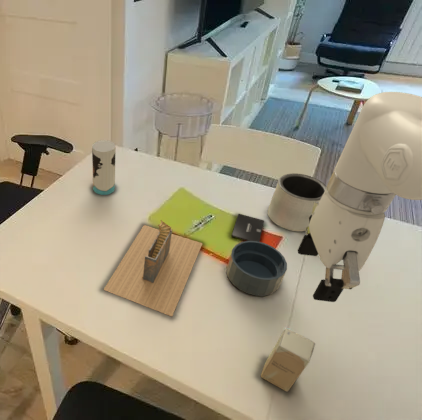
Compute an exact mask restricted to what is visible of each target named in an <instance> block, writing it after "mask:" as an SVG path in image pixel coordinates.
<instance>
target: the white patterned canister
mask: <svg viewBox="0 0 422 420" xmlns="http://www.w3.org/2000/svg"><path fill="white" fill-rule="evenodd" d="M116 147H117V146H116V144H115V142H113V141H111V140H108V139H107V140H106V139H100V140H97V141H95V142H93V143H92V145H91V159H92V160H91V161H92V163H91V164H92V190H93V192H94V193H95V194H98V195H101V196H108V195H111V194H112V193H114V192H115V190H116Z"/></svg>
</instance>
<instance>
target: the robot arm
mask: <svg viewBox="0 0 422 420" xmlns="http://www.w3.org/2000/svg"><path fill="white" fill-rule="evenodd" d="M337 160H338V161H337V163H336V164H335V167H334V169H333V172H332V173H331V176H330V178H329V180H328V182H327V184H326V186H327V187H326V189H325V192H324V194H323V196H322V197H321V199H320V201H319V203H317V202H315V203H314V205H313V210H312V215H310V217H309V226H308V227H306V230H305V231H304V232H305V234H304V235H303V238H302V239H301V242H300V244H299V246H298V248H297V253H298V254H299V255H303V256H310V257H312V256H313V257H317V256H318V257H319V259H320V261H321V263H322V265H323V266H324V267H325V273H324V274H325V275H324V278H323V279H321V280H320V281H319V283H318V285H317V287H316V289H315V291H314V292H313V294H312V299H313V301H322V302H328V303H329V302H330V303H335V302H337V300H338V299H339V297H340V296H341V294H342V293H343V291H344V290H353V289H354V288H356V287H359V286H360V284H361V278H360V271H361V270H362V269H363V268H364V266H365V264H366V262H367V261H368V259H369V257H370V255H371V254H372V251H373V250H374V247H375V245H376V244H377V241H378V238H379V237H380V234H381V232H382V229H383V226H384V222H385V219H386V215H385V212H387V210H388V209H389V207H390V206H391V204H392V202H393V200H394V199H395V197H400V198H401V199H405V200H411V201H422V96H421V95H417V94H412V93H407V92H403V91H401V92H400V91H383V92H379V93H376V94H373V95H371V96H370V97H369V98H368V99H367V100H366V101H365V103H364V104H363V105H362V107H361V110H360V112H359V114H358V116H357V118H356V120H355V122H354V125H353V127H352V129H351V132H350V134H349V136H348V138H347V141H346V143H345V145H344V147H343V149H342V152H341V154H340V156H339V158H338V159H337ZM341 261H342V263H343V264H338V263H340V262H341ZM334 270H341V278H334Z"/></svg>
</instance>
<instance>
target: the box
mask: <svg viewBox="0 0 422 420" xmlns="http://www.w3.org/2000/svg"><path fill="white" fill-rule="evenodd" d="M315 346H316V342H315V341H313V340H312V339H310V338H307V337H305V336H304V335H301V334H300V333H297V332H295V331H293V330H291V329H289V328H287V327H285V328H284V329H283V330H282V333H281V335H280V337H279V338H278V340H277V341H276V343H275V345H274V346H273V348H272V350H271V352H270V353H269V355H268V357H267V358H266V360H265V363H264V365H263V367H262V370H261V373H260V378H261V379H264V380H265V381H266V382H268V383H270V384H272V385H274V386H276V387H278V388H279V389H281V390H283V391H285V392H287V393H288V392H289V391H290V389H291V388H292V387H293V385H294V384H295V383H296V381H297V380H298V378H299V377H300V375H301V374H302V373H303V371H304V370H305V368H306V367H307V366H308V365H309V363H310V361H311V360H312V356H313V352H314V350H315V348H316V347H315Z"/></svg>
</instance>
